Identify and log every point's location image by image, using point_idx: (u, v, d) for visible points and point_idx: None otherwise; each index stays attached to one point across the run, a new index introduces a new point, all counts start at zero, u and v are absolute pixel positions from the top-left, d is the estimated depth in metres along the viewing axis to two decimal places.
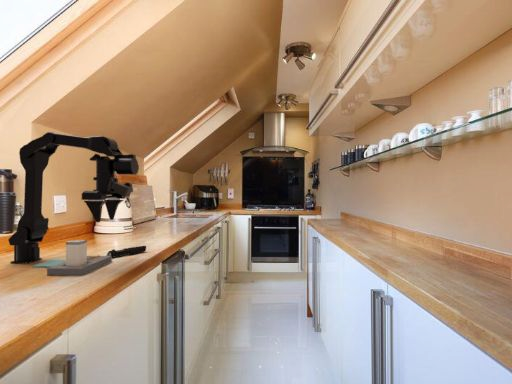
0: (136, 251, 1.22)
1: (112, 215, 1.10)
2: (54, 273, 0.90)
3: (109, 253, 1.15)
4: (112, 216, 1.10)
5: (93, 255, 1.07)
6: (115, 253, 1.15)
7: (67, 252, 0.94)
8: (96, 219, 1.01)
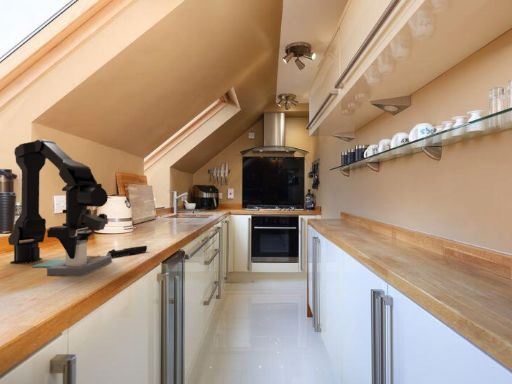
0: (137, 251, 1.21)
1: None
2: (54, 273, 0.90)
3: (109, 253, 1.15)
4: None
5: (93, 255, 1.07)
6: (115, 253, 1.15)
7: None
8: (70, 255, 0.94)
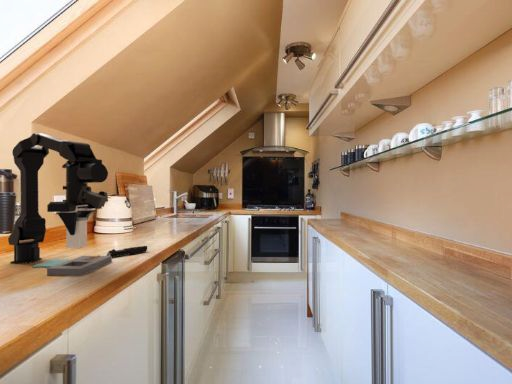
0: (137, 251, 1.21)
1: None
2: (54, 273, 0.90)
3: (109, 253, 1.15)
4: None
5: (93, 255, 1.07)
6: (115, 253, 1.15)
7: None
8: (70, 232, 0.94)
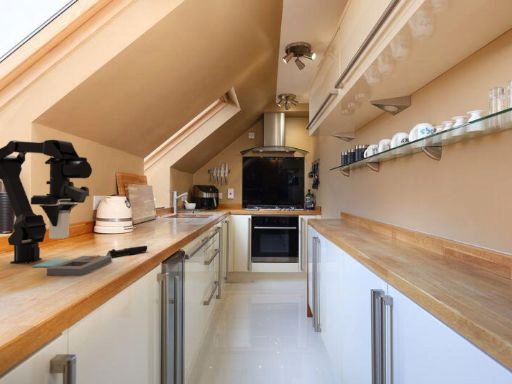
0: (137, 251, 1.22)
1: None
2: (54, 273, 0.90)
3: (109, 253, 1.15)
4: None
5: (93, 255, 1.07)
6: (114, 253, 1.15)
7: None
8: (53, 223, 1.01)
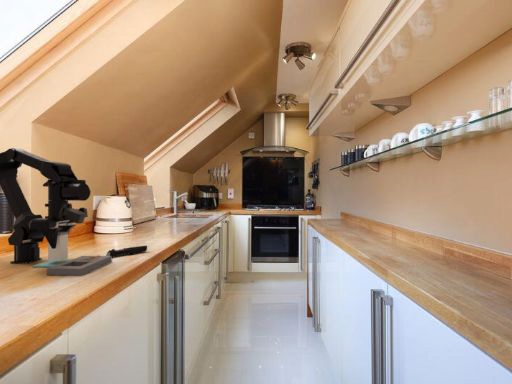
0: (136, 251, 1.22)
1: None
2: (54, 273, 0.90)
3: (109, 252, 1.16)
4: None
5: (93, 255, 1.07)
6: (114, 253, 1.15)
7: None
8: (52, 245, 1.02)
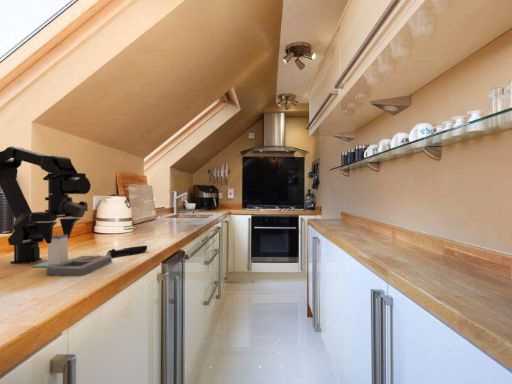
0: (136, 251, 1.22)
1: (67, 234, 1.09)
2: (54, 273, 0.90)
3: (109, 252, 1.16)
4: None
5: (93, 255, 1.07)
6: (114, 253, 1.15)
7: (49, 245, 1.02)
8: (47, 240, 0.99)
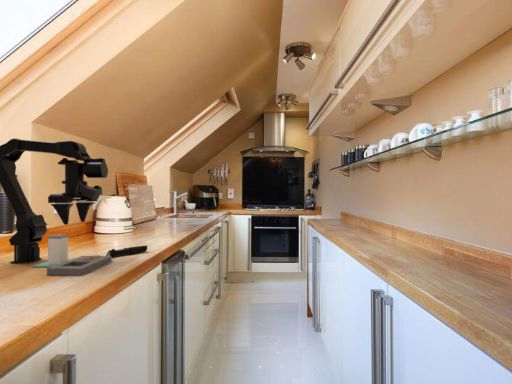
0: (136, 251, 1.22)
1: (83, 217, 1.13)
2: (54, 273, 0.90)
3: (109, 252, 1.16)
4: (83, 218, 1.13)
5: (93, 255, 1.07)
6: (114, 252, 1.16)
7: (49, 245, 1.02)
8: (64, 221, 1.04)
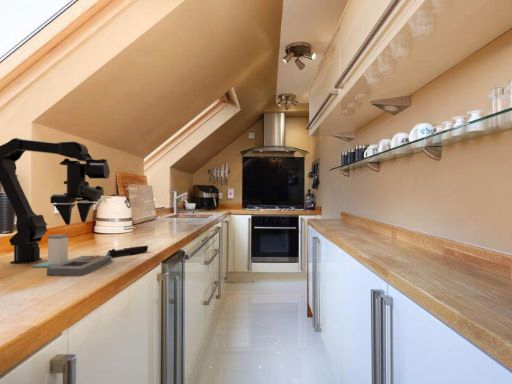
0: (137, 251, 1.22)
1: (84, 218, 1.14)
2: (54, 273, 0.90)
3: (109, 252, 1.16)
4: (84, 219, 1.14)
5: (93, 255, 1.07)
6: (114, 252, 1.16)
7: (49, 245, 1.02)
8: (66, 222, 1.04)
